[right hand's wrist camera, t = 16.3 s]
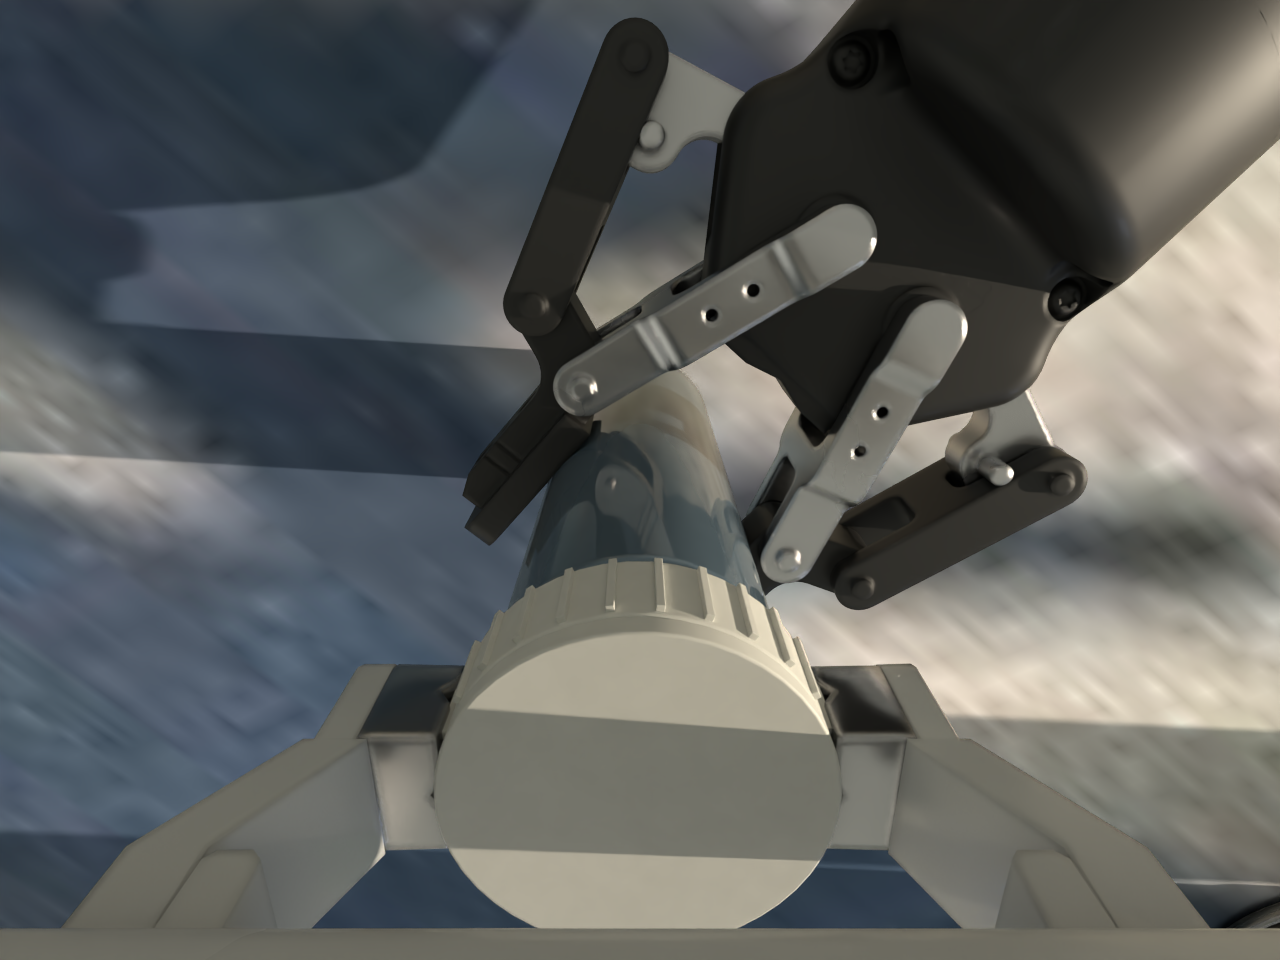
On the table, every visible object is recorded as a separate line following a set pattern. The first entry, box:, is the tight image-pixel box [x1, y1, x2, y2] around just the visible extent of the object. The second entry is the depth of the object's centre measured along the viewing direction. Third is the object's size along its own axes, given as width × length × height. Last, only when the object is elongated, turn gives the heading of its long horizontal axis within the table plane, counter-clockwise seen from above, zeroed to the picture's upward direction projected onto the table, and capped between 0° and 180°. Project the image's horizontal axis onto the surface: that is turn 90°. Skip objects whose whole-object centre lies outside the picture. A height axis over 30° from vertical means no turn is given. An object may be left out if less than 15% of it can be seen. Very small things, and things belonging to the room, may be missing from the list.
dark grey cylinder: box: [507, 370, 769, 610], centre depth 17 cm, size 4×4×15 cm
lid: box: [434, 558, 842, 928], centre depth 10 cm, size 5×5×2 cm
